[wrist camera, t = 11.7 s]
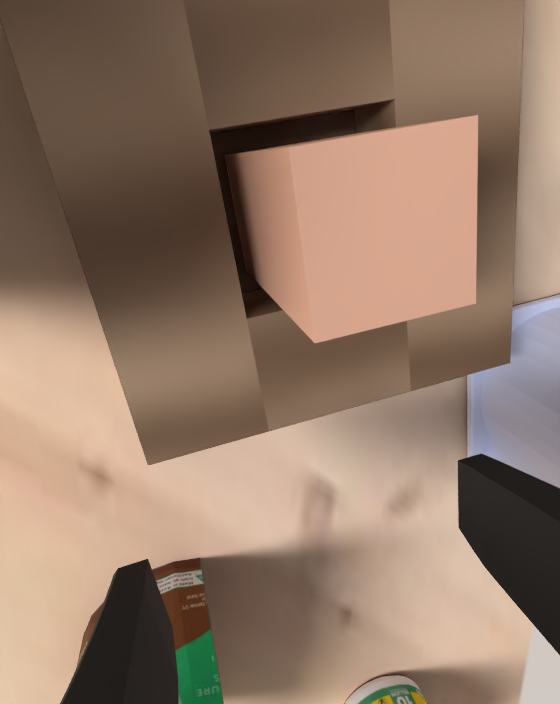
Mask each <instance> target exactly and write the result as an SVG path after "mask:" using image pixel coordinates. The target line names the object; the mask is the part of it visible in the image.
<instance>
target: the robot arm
mask: <svg viewBox="0 0 560 704" xmlns="http://www.w3.org/2000/svg"><path fill="white" fill-rule="evenodd" d="M458 510H459V529H460V530H461V532H462V533H463V535H464V537H465V538H466V540H467V541H468V543H469V544H470V546H471V547H472V549H473V550H474V552H475V553H476V555H477V556H478V558H479V559H480V561H481V562H482V564H483V565H484V566H485V568H486V569H487V570H488V571H489V573H490V574H491V575H492V576H493V577H494V579H495V580H496V581H497V582H498V583H499V585H500V586H501V587H502V588H503V589H504V590H505V592H506V593H507V594H508V595H509V596H510V598H511V599H512V600H513V601H514V602H515V603H516V605H517V606H518V607H519V608H520V609H521V610H522V612H523V613H524V614H525V615H526V616H527V617H528V619H529V620H530V621H531V622H532V623H533V624H534V626H535V627H536V628H537V629H538V630H539V631H540V632H541V634H542V635H543V636H544V637H545V638H546V640H547V641H548V642H549V643H550V644H551V645H552V647H553V648H554V649H555V650H556V651H557V652H558V654H559V655H560V294H559V295H555V296H551V297H547V298H544V299H540V300H536V301H532V302H528V303H524V304H520V305H517V306H513V307H512V333H511V359H510V363H508V364H505V365H501V366H498V367H494V368H491V369H487V370H484V371H480V372H477V373H473V374H470V375H467V458H465V459H462V460H459V461H458ZM60 704H179V693H178V671H177V662H176V652H175V644H174V635H173V627H172V624H171V621H170V618H169V615H168V613H167V610H166V607H165V604H164V602H163V599H162V596H161V594H160V591H159V588H158V585H157V583H156V580H155V577H154V574H153V572H152V569H151V566H150V564H149V561H148V559H146V560H143V561H140V562H137V563H133V564H130V565H127V566H124V567H121V568H118V569H117V571H116V572H115V574H114V576H113V579H112V582H111V585H110V587H109V590H108V593H107V596H106V598H105V601H104V604H103V606H102V609H101V611H100V614H99V617H98V619H97V621H96V624H95V626H94V629H93V631H92V634H91V636H90V639H89V641H88V643H87V646H86V648H85V650H84V653H83V655H82V657H81V659H80V662H79V664H78V666H77V669H76V671H75V673H74V676H73V678H72V680H71V682H70V684H69V687H68V689H67V691H66V693H65V695H64V697H63V699H62V701H61V703H60Z"/></svg>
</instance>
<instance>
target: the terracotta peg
mask: <svg viewBox="0 0 560 704" xmlns="http://www.w3.org/2000/svg"><path fill="white" fill-rule="evenodd" d="M225 159H226V165H227V170H228V176H229V181H230V186H231V192H232V197H233V203H234V208H235V213H236V219H237V224H238V230H239V235H240V240H241V246H242V251H243V257H244V262H245V267H246V271H247V272H248V273H249V274H250V275H251V276H252V277H253V278H254V280H255V281H256V282H257V283H258V284H259V285H260V286H261V287H262V288H263V289H264V290H265V291H266V292H267V293H268V294H269V295H270V296H271V298H272V299H273V300H274V301H275V302H276V303H277V304H278V305H279V306H280V307H281V308H282V309H283V310H284V311H285V312H286V313H287V315H288V316H289V317H290V318H291V319H292V320H293V321H294V322H295V323H296V324H297V325H298V326H299V327H300V328H301V329H302V330H303V331H304V333H305V334H306V335H307V336H308V337H309V338H310V339H311V340H312V341H313V342H314V343H319V342H323V341H327V340H331V339H335V338H339V337H343V336H347V335H351V334H355V333H359V332H363V331H367V330H371V329H375V328H379V327H383V326H387V325H391V324H395V323H399V322H403V321H407V320H411V319H415V318H419V317H423V316H427V315H432V314H436V313H440V312H444V311H448V310H452V309H456V308H460V307H464V306H468V305H472V304H476V264H477V178H478V115H475V116H468V117H462V118H455V119H448V120H442V121H435V122H428V123H422V124H415V125H408V126H402V127H395V128H388V129H381V130H375V131H368V132H361V133H355V134H348V135H341V136H335V137H329V138H323V139H317V140H311V141H305V142H299V143H293V144H288V145H282V146H276V147H270V148H264V149H258V150H252V151H246V152H240V153H234V154H228V155H225Z"/></svg>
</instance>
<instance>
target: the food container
mask: <svg viewBox="0 0 560 704" xmlns="http://www.w3.org/2000/svg"><path fill="white" fill-rule="evenodd" d="M152 572H153V574H154V577H155V580H156V583H157V585H158V588H159V591H160V594H161V596H162V599H163V602H164V604H165V607H166V610H167V613H168V615H169V618H170V621H171V624H172V627H173V635H174V644H175V652H176V662H177V671H178V693H179V704H224V702H223V696H222V690H221V684H220V678H219V672H218V666H217V660H216V654H215V648H214V642H213V636H212V630H211V624H210V618H209V612H208V606H207V600H206V594H205V588H204V582H203V576H202V570H201V564H200V558H197V559H190V560H183V561H176V562H172V563H169V564H166V565H163V566H161V567H158V568H155V569H152ZM103 604H104V602H103V603H102V604H101V605H100V607H99V608H98V609H97V610H96V611H95V612H94V614H93V615H92V616H91V618H90V621H89V623H88V626H87V628H86V631H85V633H84V636H83V641H82V645H81V650H80V654H79V659H78V664H79V662H80V659H81V657H82V655H83V653H84V650H85V648H86V646H87V643H88V641H89V639H90V636H91V634H92V631H93V629H94V626H95V624H96V621H97V619H98V617H99V614H100V611H101V609H102V606H103ZM78 664H77V666H78ZM76 669H77V668H76Z"/></svg>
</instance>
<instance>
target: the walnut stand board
mask: <svg viewBox="0 0 560 704" xmlns="http://www.w3.org/2000/svg"><path fill="white" fill-rule="evenodd" d="M0 20H1V23H2V26H3V29H4V32H5V35H6V38H7V41H8V44H9V47H10V50H11V53H12V56H13V59H14V62H15V65H16V68H17V71H18V74H19V77H20V80H21V83H22V86H23V89H24V92H25V95H26V98H27V101H28V104H29V107H30V110H31V113H32V116H33V119H34V122H35V125H36V128H37V131H38V134H39V137H40V140H41V143H42V146H43V149H44V152H45V155H46V158H47V161H48V164H49V168H50V171H51V174H52V177H53V180H54V183H55V186H56V189H57V192H58V195H59V198H60V201H61V204H62V207H63V210H64V213H65V216H66V219H67V222H68V225H69V228H70V231H71V234H72V237H73V240H74V243H75V246H76V249H77V252H78V255H79V258H80V261H81V264H82V267H83V270H84V273H85V276H86V279H87V282H88V285H89V288H90V291H91V294H92V297H93V300H94V303H95V306H96V309H97V312H98V316H99V319H100V322H101V325H102V328H103V331H104V334H105V337H106V340H107V343H108V346H109V349H110V352H111V355H112V358H113V361H114V364H115V367H116V370H117V373H118V376H119V379H120V382H121V385H122V388H123V391H124V394H125V397H126V400H127V403H128V406H129V409H130V412H131V415H132V418H133V421H134V424H135V427H136V430H137V433H138V436H139V439H140V442H141V445H142V448H143V451H144V454H145V457H146V460H147V463H148V465H152V464H155V463H159V462H162V461H166V460H169V459H173V458H176V457H180V456H183V455H187V454H190V453H194V452H198V451H201V450H205V449H208V448H212V447H215V446H219V445H222V444H226V443H229V442H233V441H236V440H240V439H243V438H247V437H251V436H254V435H258V434H261V433H265V432H268V431H272V430H275V429H279V428H282V427H286V426H289V425H293V424H296V423H300V422H304V421H307V420H311V419H314V418H318V417H321V416H325V415H328V414H332V413H335V412H339V411H342V410H346V409H349V408H353V407H357V406H360V405H364V404H367V403H371V402H374V401H378V400H381V399H385V398H388V397H392V396H395V395H399V394H402V393H406V392H410V391H413V390H417V389H420V388H424V387H427V386H431V385H434V384H438V383H441V382H445V381H448V380H452V379H455V378H459V377H463V376H466V375H470V374H473V373H477V372H480V371H484V370H487V369H491V368H494V367H498V366H501V365H505V364H508V363H510V359H511V333H512V307H513V281H514V256H515V230H516V204H517V178H518V153H519V127H520V101H521V75H522V50H523V24H524V0H0ZM349 110H354V115H355V126H356V133H361V132H368V131H375V130H381V129H388V128H395V127H402V126H408V125H415V124H422V123H428V122H435V121H442V120H448V119H455V118H462V117H468V116H475V115H478V178H477V264H476V304H472V305H468V306H464V307H460V308H456V309H452V310H448V311H444V312H440V313H436V314H432V315H427V316H423V317H419V318H415V319H411V320H407V321H403V322H399V323H395V324H391V325H387V326H383V327H379V328H375V329H371V330H367V331H363V332H359V333H355V334H351V335H347V336H343V337H339V338H335V339H331V340H327V341H323V342H319V343H314V342H313V341H312V340H311V339H310V338H309V337H308V336H307V335H306V334H305V333H304V331H303V330H302V329H301V328H300V327H299V326H298V325H297V324H296V323H295V322H294V321H293V320H292V319H291V318H290V317H289V316H288V315H287V313H286V312H285V311H284V310H283V309H282V308H281V307H280V306H279V305H278V304H277V303H276V302H275V301H274V300H273V299H272V298H271V296H270V295H269V294H268V293H267V292H266V291H265V290H264V289H263V288H262V289H258V290H253V291H249V292H245V293H241V288H240V283H239V278H238V273H237V268H236V263H235V258H234V253H233V248H232V243H231V238H230V233H229V228H228V222H227V217H226V212H225V207H224V202H223V197H222V192H221V187H220V182H219V177H218V172H217V167H216V162H215V157H214V152H213V147H212V142H211V137H210V134H212V133H218V132H224V131H230V130H236V129H242V128H248V127H254V126H260V125H266V124H272V123H278V122H284V121H290V120H296V119H302V118H308V117H314V116H319V115H325V114H331V113H337V112H343V111H349Z"/></svg>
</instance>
